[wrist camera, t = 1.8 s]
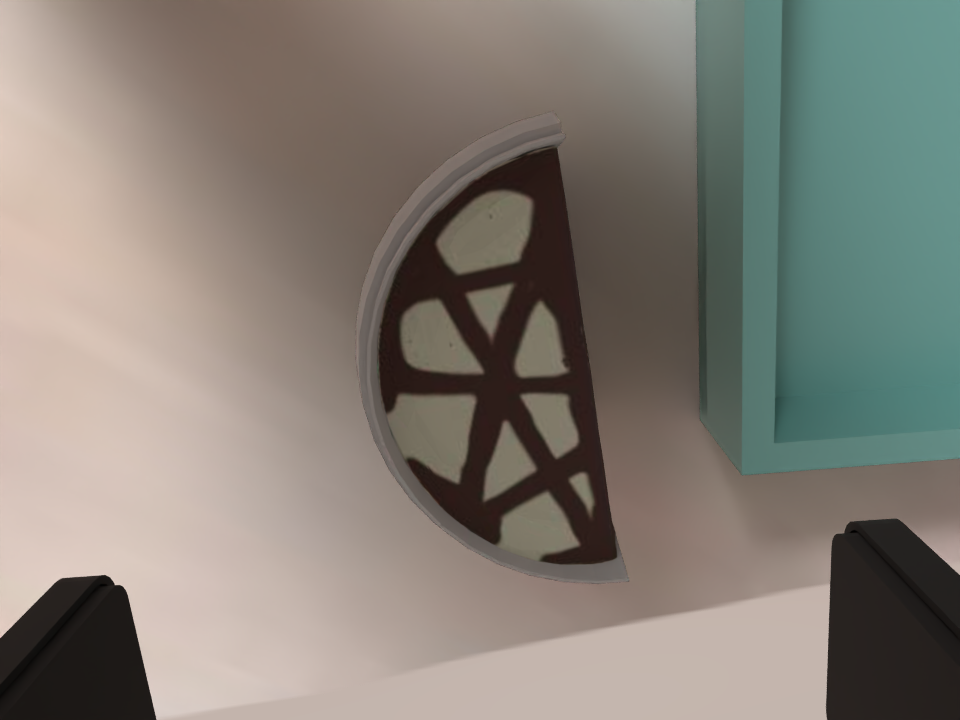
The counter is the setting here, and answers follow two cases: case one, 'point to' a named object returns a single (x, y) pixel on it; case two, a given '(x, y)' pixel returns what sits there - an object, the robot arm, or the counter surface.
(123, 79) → the counter surface
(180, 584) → the counter surface
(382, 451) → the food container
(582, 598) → the counter surface
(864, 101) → the tray
